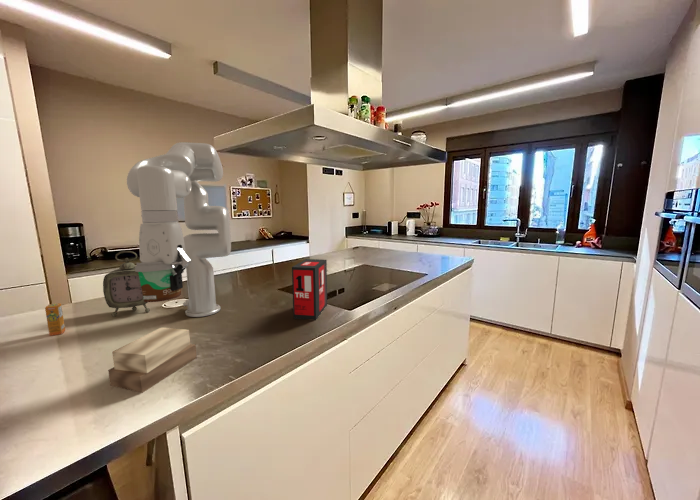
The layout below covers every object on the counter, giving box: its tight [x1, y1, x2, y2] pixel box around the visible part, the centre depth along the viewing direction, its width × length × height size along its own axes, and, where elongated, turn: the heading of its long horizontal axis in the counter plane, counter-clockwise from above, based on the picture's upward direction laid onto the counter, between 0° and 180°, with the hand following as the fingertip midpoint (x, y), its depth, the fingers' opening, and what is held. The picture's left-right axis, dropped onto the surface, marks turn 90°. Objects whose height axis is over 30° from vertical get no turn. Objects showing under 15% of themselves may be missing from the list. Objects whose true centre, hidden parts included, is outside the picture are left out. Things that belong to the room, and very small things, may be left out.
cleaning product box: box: [291, 258, 328, 321], centre depth 116 cm, size 16×9×20 cm, turn 170°
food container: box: [135, 258, 182, 303], centre depth 74 cm, size 12×6×10 cm, turn 170°
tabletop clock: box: [102, 250, 151, 317], centre depth 115 cm, size 14×9×25 cm, turn 114°
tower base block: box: [107, 343, 198, 394], centre depth 75 cm, size 10×16×4 cm, turn 164°
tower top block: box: [112, 327, 191, 373], centre depth 74 cm, size 9×14×4 cm, turn 170°
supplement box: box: [44, 302, 66, 337], centre depth 96 cm, size 3×3×10 cm
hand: (167, 287), depth 75 cm, fingers closed on food container, 5 cm apart
